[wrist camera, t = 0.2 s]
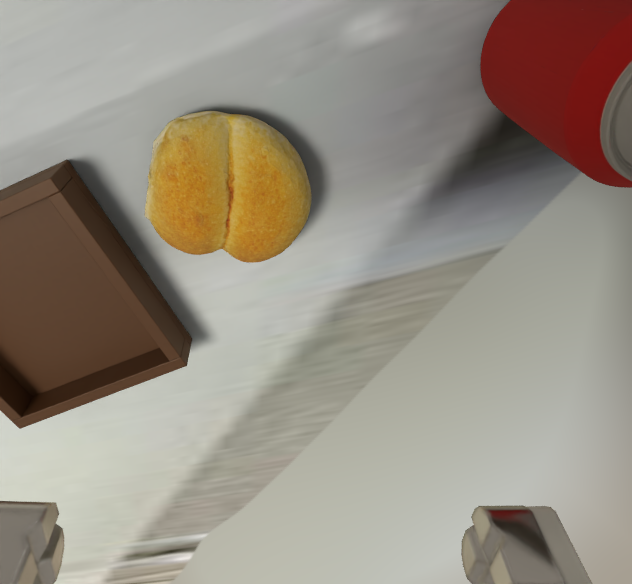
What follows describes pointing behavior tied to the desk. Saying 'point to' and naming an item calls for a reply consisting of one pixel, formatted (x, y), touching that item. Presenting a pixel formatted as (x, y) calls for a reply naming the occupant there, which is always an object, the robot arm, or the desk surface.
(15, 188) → the serving tray
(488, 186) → the desk surface
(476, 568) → the robot arm
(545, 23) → the beverage can
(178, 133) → the bread roll
